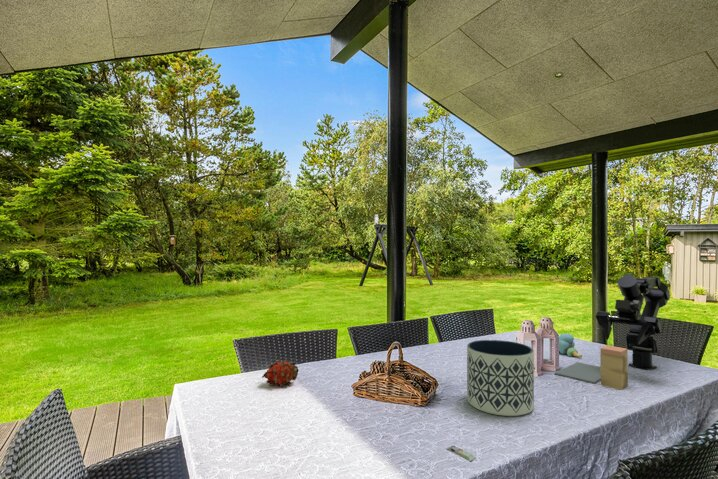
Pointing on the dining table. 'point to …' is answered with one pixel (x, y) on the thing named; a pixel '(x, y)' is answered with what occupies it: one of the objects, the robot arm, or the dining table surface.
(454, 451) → the granola bar
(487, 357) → the planter
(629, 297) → the robot arm
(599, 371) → the charcoal mat
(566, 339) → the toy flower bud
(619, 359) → the oak block
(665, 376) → the dining table surface
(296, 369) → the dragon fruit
